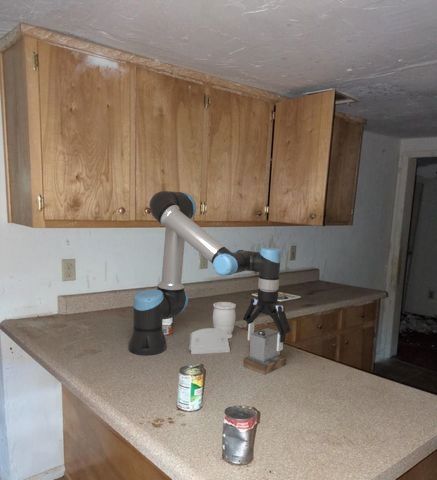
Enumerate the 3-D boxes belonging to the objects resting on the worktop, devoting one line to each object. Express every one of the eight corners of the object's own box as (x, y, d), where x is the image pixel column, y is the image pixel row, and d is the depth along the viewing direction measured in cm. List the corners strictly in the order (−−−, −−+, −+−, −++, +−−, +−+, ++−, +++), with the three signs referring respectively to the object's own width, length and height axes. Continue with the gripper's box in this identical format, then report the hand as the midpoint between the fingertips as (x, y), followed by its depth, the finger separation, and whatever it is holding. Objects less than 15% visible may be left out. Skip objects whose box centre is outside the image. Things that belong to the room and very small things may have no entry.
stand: (264, 374, 136) (265, 365, 136) (243, 366, 143) (243, 357, 143) (285, 364, 146) (285, 356, 146) (264, 357, 153) (264, 349, 152)
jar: (219, 331, 183) (220, 300, 181) (238, 335, 178) (240, 303, 176) (207, 337, 174) (208, 304, 172) (227, 341, 168) (228, 308, 167)
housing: (279, 356, 146) (280, 328, 145) (263, 363, 139) (265, 334, 138) (265, 351, 150) (267, 324, 149) (249, 357, 143) (250, 330, 142)
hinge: (190, 354, 153) (189, 328, 155) (188, 353, 157) (187, 328, 160) (230, 352, 157) (229, 327, 159) (227, 351, 161) (226, 327, 164)
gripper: (302, 294, 136) (298, 352, 138) (248, 282, 153) (245, 333, 155) (291, 297, 131) (286, 357, 133) (236, 284, 148) (233, 337, 150)
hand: (264, 344), depth 144 cm, fingers open, 13 cm apart
